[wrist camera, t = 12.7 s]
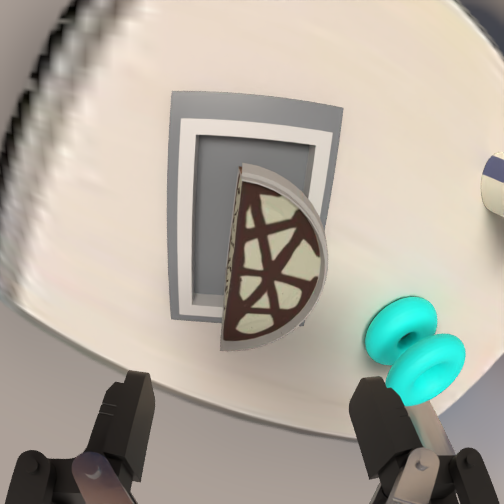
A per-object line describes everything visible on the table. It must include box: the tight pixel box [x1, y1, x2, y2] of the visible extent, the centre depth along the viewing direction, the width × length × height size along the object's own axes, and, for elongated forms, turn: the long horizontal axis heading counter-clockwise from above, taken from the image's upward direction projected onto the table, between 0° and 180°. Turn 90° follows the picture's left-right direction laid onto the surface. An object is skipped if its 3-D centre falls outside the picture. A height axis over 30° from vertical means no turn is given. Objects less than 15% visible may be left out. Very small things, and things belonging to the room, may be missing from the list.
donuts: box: [365, 297, 465, 406], centre depth 29 cm, size 10×10×10 cm
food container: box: [220, 163, 328, 351], centre depth 22 cm, size 12×6×10 cm, turn 172°
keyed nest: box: [167, 91, 343, 326], centre depth 26 cm, size 22×14×3 cm, turn 175°
